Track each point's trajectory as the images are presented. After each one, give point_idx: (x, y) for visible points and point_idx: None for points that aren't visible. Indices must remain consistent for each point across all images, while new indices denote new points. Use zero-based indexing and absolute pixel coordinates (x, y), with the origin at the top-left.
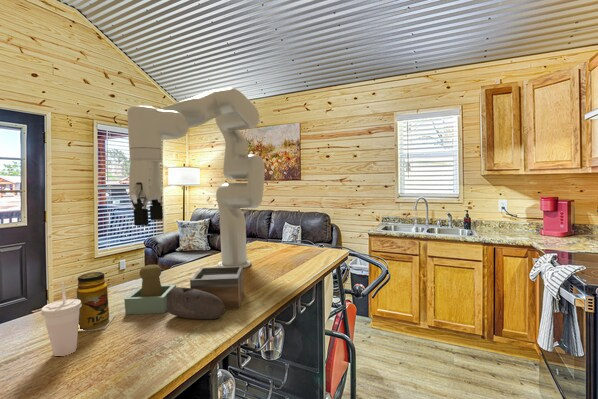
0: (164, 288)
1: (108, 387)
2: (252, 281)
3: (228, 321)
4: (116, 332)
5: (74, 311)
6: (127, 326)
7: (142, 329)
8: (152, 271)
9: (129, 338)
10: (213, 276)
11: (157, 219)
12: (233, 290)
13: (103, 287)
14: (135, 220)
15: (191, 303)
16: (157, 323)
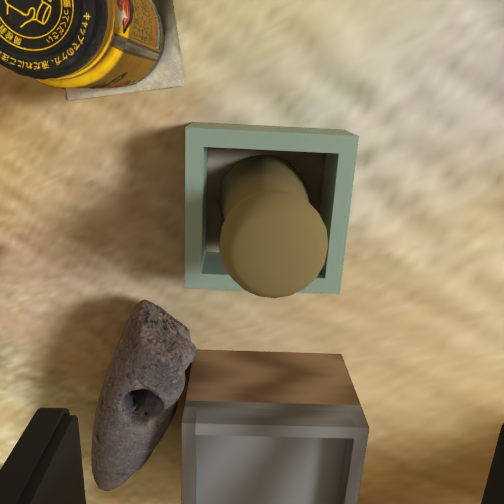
0: None
1: None
2: (443, 496)
3: None
4: (44, 155)
5: None
6: (89, 174)
7: (65, 234)
8: (230, 274)
9: (4, 217)
10: (293, 466)
11: (486, 487)
12: None
13: (50, 85)
14: (18, 458)
15: (97, 406)
16: (107, 268)
